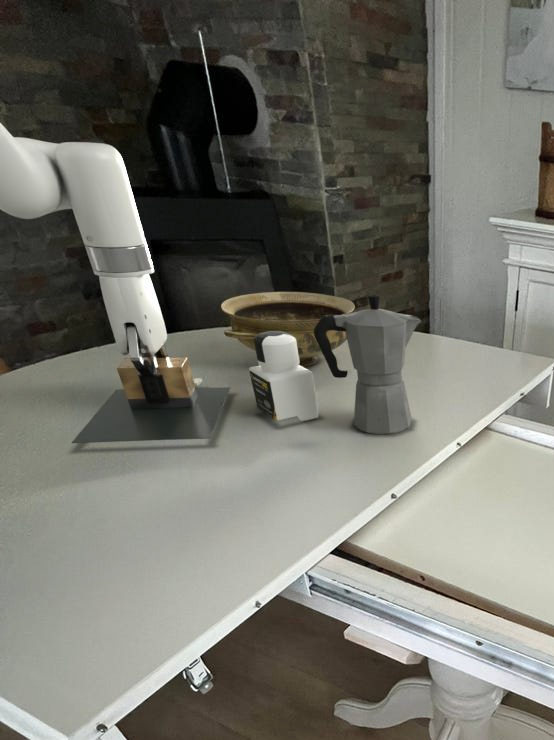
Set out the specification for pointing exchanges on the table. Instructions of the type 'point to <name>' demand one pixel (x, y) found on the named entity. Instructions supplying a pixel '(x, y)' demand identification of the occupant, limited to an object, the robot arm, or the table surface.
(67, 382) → the table surface
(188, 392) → the eraser
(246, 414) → the table surface
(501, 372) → the table surface
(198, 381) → the chalk lump
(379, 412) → the coffeepot
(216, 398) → the slate board
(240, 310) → the ceramic bowl
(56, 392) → the table surface
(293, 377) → the medicine bottle
